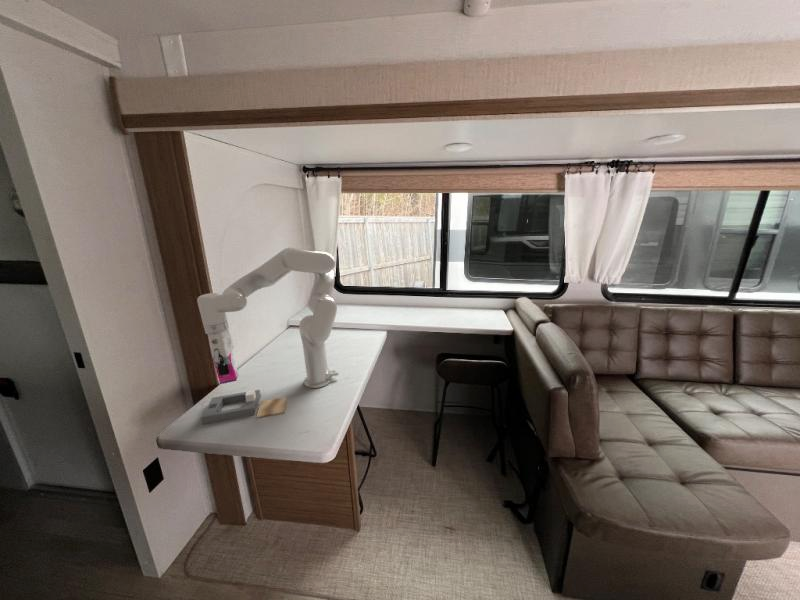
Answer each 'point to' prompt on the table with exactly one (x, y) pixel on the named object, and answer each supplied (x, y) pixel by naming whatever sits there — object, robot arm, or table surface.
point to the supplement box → (231, 367)
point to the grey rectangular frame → (216, 404)
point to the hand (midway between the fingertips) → (226, 369)
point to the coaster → (272, 407)
